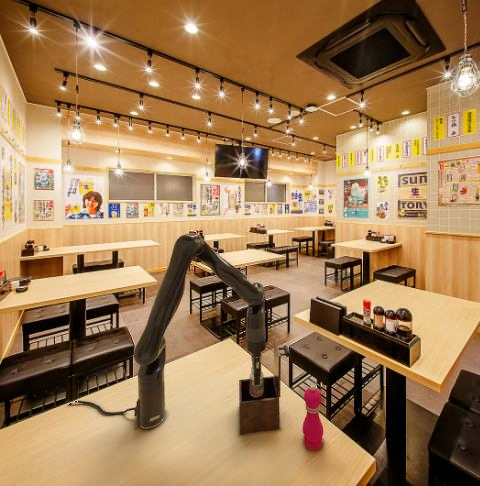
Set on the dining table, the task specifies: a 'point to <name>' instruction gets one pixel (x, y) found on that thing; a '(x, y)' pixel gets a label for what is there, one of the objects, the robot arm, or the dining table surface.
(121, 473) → the dining table surface
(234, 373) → the dining table surface
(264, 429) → the chest
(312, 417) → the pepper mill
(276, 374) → the lid
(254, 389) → the pill bottle
